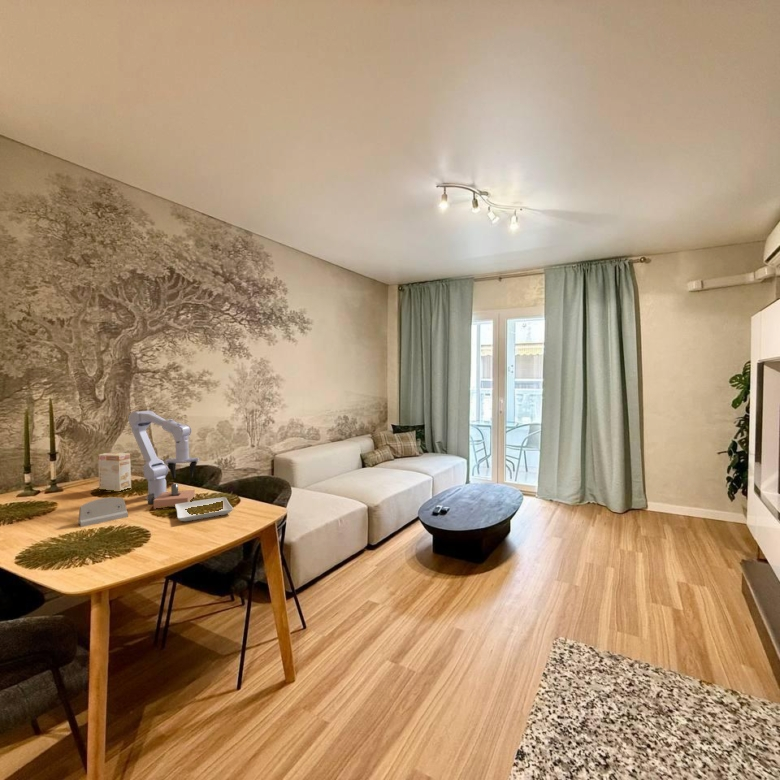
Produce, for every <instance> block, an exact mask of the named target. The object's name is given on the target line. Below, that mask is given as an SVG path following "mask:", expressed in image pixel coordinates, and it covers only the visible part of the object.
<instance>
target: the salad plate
mask: <svg viewBox="0 0 780 780" xmlns="http://www.w3.org/2000/svg"><path fill="white" fill-rule="evenodd" d="M221 501H223V509H221V510H219V511H215V512H209V513H204V514H198V515H196V514H193V515H191V514H189V513H188V512H187V510H185V509H188V508H191V507H197V506H203V505H209V504H213V503H216V502H221ZM175 509H176V516H177V517H176V518H177V519H178V520H179V521H181V522H191V521H192V520H193V521H197V519H199V520H204V519H210V518H215V517H220V516H219V515H221V516H224V515H228V514H230V513H231V512H233V510H234V508H233V506H232V505H231V504H230V502H229V500H228V498H227V497H226V496H222V497H221V496H220V497H213V498H208V499H207V498H206V499H200V500H193V501H192V502H186V503H179V504H175ZM214 516H215V517H214ZM209 517H210V518H209ZM203 518H204V519H203Z"/></svg>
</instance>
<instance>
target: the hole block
mask: <svg viewBox="0 0 780 780" xmlns="http://www.w3.org/2000/svg"><path fill="white" fill-rule="evenodd" d="M195 494H196V493H195V489H189V490H188V489H187V490H186V489H185V490H178V496H171V491H167V492H163V493H161V494H160V495H159V496H158V497H157V498H154V499H155V500H153V501H154V504H153V510H157V509H156V508H161V507H167V506H174V505H175V504H179V503H186V502H190V500H191V499H192V498H193V497H194V496H195ZM195 497H196V496H195Z"/></svg>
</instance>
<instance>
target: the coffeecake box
mask: <svg viewBox="0 0 780 780" xmlns="http://www.w3.org/2000/svg"><path fill="white" fill-rule="evenodd" d="M97 456H98V457H97V458H98V459H97V461H98V485H99V486H98V490H99V489H106V490H114V491H121V490H124V489H127V488H131V489H132V471H131V469H132V467H131V466H132V465H131V464H132V463H131V453H129V452H128V453H127V452H126V453H125V452H104V453H100V454H97Z"/></svg>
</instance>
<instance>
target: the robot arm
mask: <svg viewBox="0 0 780 780" xmlns="http://www.w3.org/2000/svg"><path fill="white" fill-rule="evenodd" d="M127 421H128V422H129V425H130V428H131V432H132V434H133V436H134V439H135V441H136V444H137V446H138V448H139V450H140V453H141V454H142V457H143V460H144V462H145V464H144V465H143V467H142V470H143V476H144V478H145V480H146V481H147V486H148V487H147V490H148V491H147V493H148V494H151V493H154V499H156V498H157V497H158V496H159V495H160V494H161V493H163V492H168V491H167V480H166V477H167V475H168V473H169V471H170V473H171V476H172V478H173V479H176V477H177V475H176V474H177V473H176V467H177V466H176V465H177V464H185V463H186V464H187V463H188V464H189V469H190V471H189V477H190V478H193V477H194V473H195V469H196V467H197V464H198V463H199V462H200V457H190V444H189V443H190V439H189V437H190V436H191V434H192V428H191V427H190V426H189V425H188V424H182V423H181V422H176V421H175V420H174V419H173V418H170V419H169V418H168V419H166V418H163V417H162V416H160V415H157V414H156V413H155V412H154V411H152V410H142V411H131V413H130V414H129V416H128V418H127ZM152 423H153V424H156V425H158V426H161V427H162V430H164V431H166V432H168V433H170V434H172V436H173V438H174V442H175V458H169V459H165V461H164V460H162V459H160V458H159V457H158V456H157V454H156V451H155V449H154V446H153V445H152V442H151V440H150V437H149V435H148V433H147V429H148V428H149V427H150V425H151V424H152ZM145 500H148V497H147V496H146V497H145Z"/></svg>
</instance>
